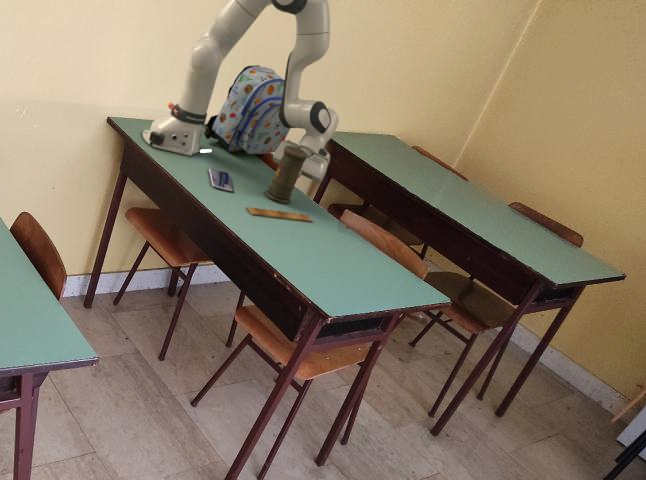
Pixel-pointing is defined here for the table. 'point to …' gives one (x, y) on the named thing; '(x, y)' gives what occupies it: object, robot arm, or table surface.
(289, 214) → the ruler
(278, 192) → the container
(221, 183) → the mobile phone
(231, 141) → the backpack
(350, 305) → the table surface
